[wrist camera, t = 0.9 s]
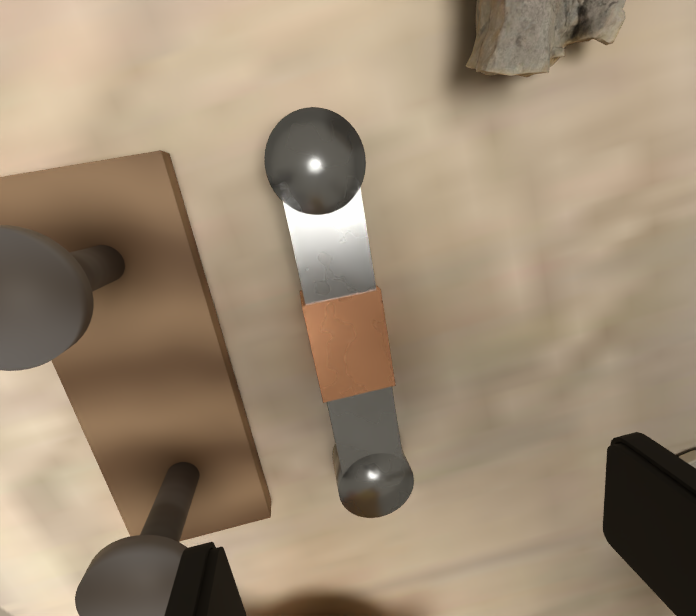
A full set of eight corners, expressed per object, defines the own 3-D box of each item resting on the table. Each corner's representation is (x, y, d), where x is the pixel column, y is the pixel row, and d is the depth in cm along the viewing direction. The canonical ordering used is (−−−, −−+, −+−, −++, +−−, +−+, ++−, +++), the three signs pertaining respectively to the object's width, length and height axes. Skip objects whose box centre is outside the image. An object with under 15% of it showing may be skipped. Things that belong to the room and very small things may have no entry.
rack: (271, 500, 28) (264, 644, 19) (145, 533, 27) (75, 700, 18) (169, 153, 21) (80, 119, 12) (-7, 183, 20) (-247, 170, 11)
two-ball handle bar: (403, 471, 29) (419, 508, 26) (339, 488, 29) (346, 528, 25) (346, 114, 22) (357, 98, 18) (258, 129, 21) (253, 115, 18)
